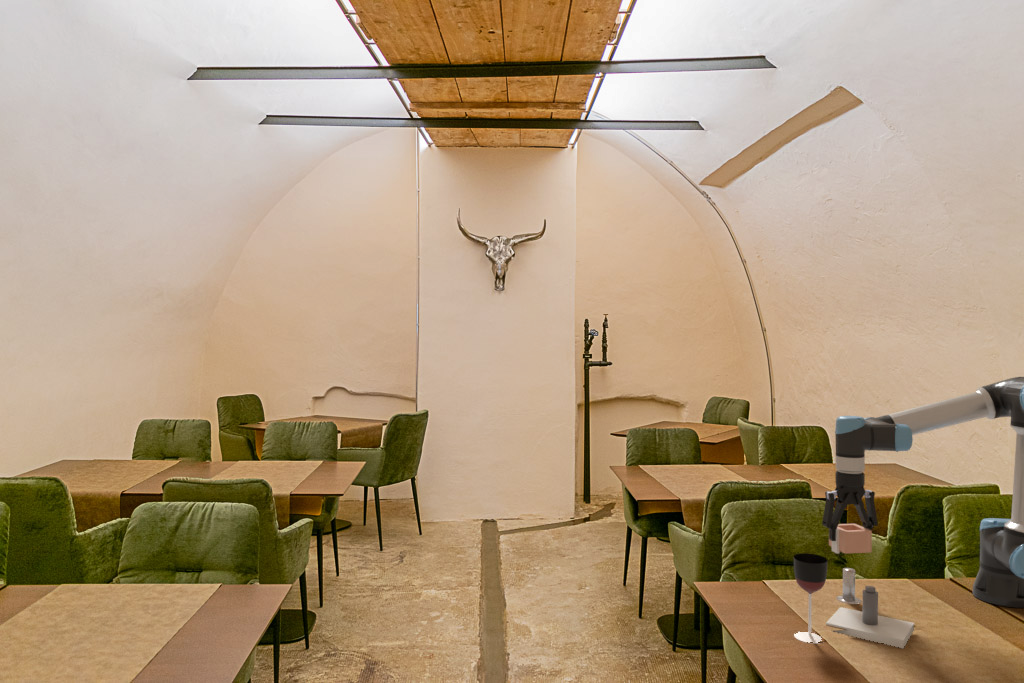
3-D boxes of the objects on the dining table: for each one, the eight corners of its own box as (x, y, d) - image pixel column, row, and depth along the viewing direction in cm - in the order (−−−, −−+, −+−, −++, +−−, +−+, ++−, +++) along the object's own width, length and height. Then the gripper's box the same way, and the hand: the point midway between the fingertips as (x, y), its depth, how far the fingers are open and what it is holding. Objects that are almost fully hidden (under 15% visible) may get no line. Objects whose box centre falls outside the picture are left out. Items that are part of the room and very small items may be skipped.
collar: (854, 544, 216) (854, 523, 216) (871, 552, 208) (871, 530, 208) (828, 545, 215) (828, 524, 215) (844, 553, 207) (844, 531, 207)
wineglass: (825, 632, 192) (826, 555, 191) (828, 646, 184) (828, 565, 183) (792, 628, 194) (793, 552, 194) (793, 641, 186) (794, 561, 186)
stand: (864, 604, 212) (864, 569, 212) (858, 611, 207) (858, 575, 207) (839, 599, 216) (839, 564, 216) (833, 605, 211) (833, 570, 211)
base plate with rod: (914, 630, 193) (914, 587, 193) (903, 648, 182) (903, 602, 182) (840, 614, 204) (840, 573, 204) (825, 630, 193) (826, 587, 193)
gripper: (876, 467, 216) (876, 546, 216) (808, 469, 213) (808, 549, 214) (892, 472, 209) (892, 553, 209) (822, 474, 206) (822, 557, 206)
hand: (849, 551), depth 211 cm, fingers closed on collar, 8 cm apart
